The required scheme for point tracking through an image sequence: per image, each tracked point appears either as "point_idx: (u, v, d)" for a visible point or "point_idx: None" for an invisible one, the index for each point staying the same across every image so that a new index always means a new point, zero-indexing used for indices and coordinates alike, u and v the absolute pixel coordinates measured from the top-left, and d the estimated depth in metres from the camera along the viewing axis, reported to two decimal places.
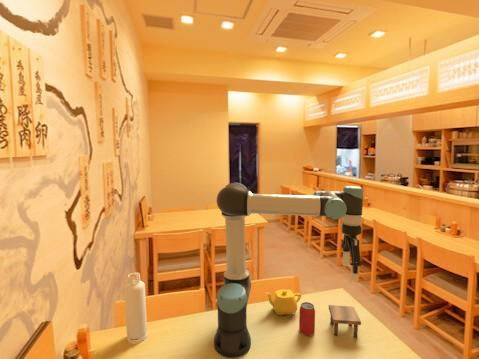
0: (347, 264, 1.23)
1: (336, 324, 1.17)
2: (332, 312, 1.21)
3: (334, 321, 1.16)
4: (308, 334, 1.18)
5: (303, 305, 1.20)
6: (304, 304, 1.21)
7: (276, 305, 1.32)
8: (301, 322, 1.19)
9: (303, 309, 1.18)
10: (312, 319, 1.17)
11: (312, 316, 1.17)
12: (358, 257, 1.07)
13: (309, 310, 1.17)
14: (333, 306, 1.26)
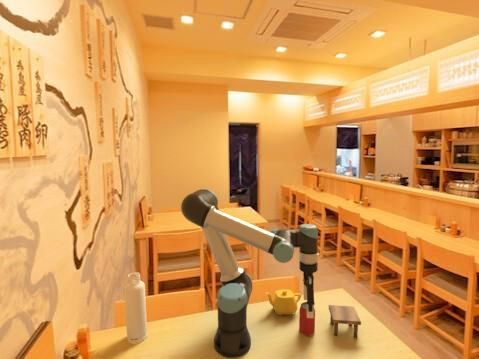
0: None
1: (336, 324, 1.17)
2: (332, 312, 1.21)
3: (334, 321, 1.16)
4: (308, 334, 1.18)
5: (303, 305, 1.20)
6: (304, 304, 1.21)
7: (276, 305, 1.32)
8: (301, 322, 1.19)
9: (303, 309, 1.18)
10: (312, 319, 1.17)
11: None
12: (312, 296, 1.10)
13: None
14: (333, 306, 1.26)
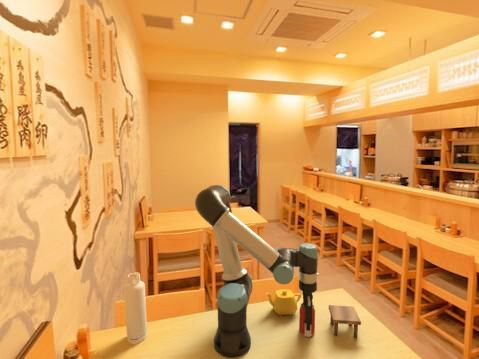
0: None
1: (336, 324, 1.17)
2: (332, 312, 1.21)
3: (334, 321, 1.16)
4: None
5: (303, 305, 1.20)
6: None
7: (276, 305, 1.32)
8: (301, 322, 1.19)
9: (303, 309, 1.18)
10: (312, 319, 1.17)
11: (312, 316, 1.17)
12: (310, 317, 1.13)
13: None
14: (333, 306, 1.26)
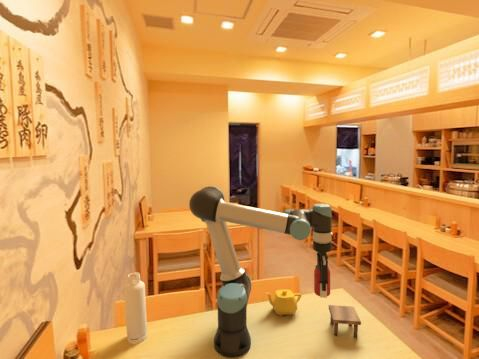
0: None
1: (336, 324, 1.17)
2: (332, 312, 1.21)
3: (334, 321, 1.16)
4: None
5: (318, 267, 1.18)
6: (319, 266, 1.19)
7: (276, 305, 1.32)
8: (316, 283, 1.17)
9: (318, 270, 1.16)
10: None
11: None
12: (326, 276, 1.11)
13: None
14: (333, 306, 1.26)
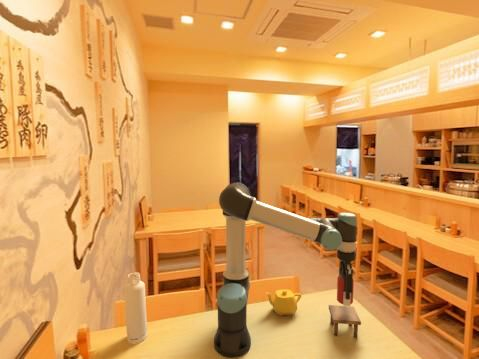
0: None
1: (336, 324, 1.17)
2: (332, 312, 1.21)
3: (334, 321, 1.16)
4: None
5: (341, 275, 1.19)
6: (342, 274, 1.20)
7: (276, 305, 1.32)
8: (340, 292, 1.18)
9: (342, 278, 1.17)
10: None
11: None
12: (350, 285, 1.12)
13: None
14: (333, 306, 1.26)
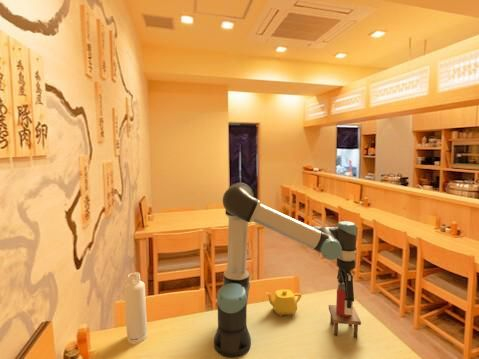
0: None
1: (336, 324, 1.17)
2: (332, 312, 1.21)
3: (334, 321, 1.16)
4: (346, 315, 1.17)
5: (340, 287, 1.20)
6: (341, 286, 1.21)
7: (276, 305, 1.32)
8: (339, 303, 1.18)
9: (341, 290, 1.17)
10: None
11: None
12: (351, 293, 1.10)
13: None
14: (333, 306, 1.26)
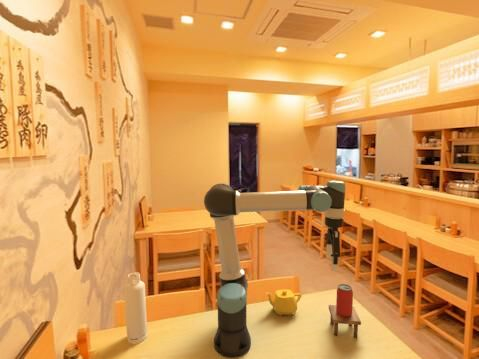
0: (330, 256, 1.27)
1: (336, 324, 1.17)
2: (332, 312, 1.21)
3: (334, 321, 1.16)
4: (346, 315, 1.17)
5: (340, 287, 1.20)
6: (341, 286, 1.21)
7: (276, 305, 1.32)
8: (339, 303, 1.18)
9: (341, 290, 1.17)
10: (350, 300, 1.17)
11: (350, 297, 1.17)
12: (338, 248, 1.11)
13: (347, 291, 1.16)
14: (333, 306, 1.26)
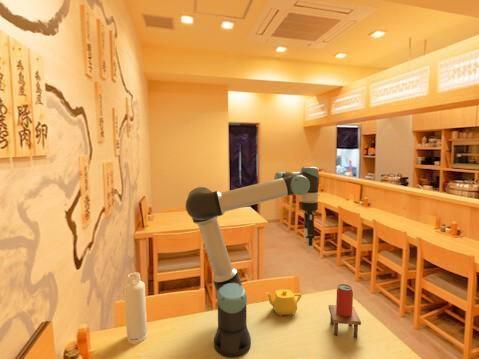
0: None
1: (336, 324, 1.17)
2: (332, 312, 1.21)
3: (334, 321, 1.16)
4: (346, 315, 1.17)
5: (340, 287, 1.20)
6: (341, 286, 1.21)
7: (276, 305, 1.32)
8: (339, 303, 1.18)
9: (341, 290, 1.17)
10: (350, 300, 1.17)
11: (350, 297, 1.17)
12: (312, 230, 1.17)
13: (347, 291, 1.16)
14: (333, 306, 1.26)
